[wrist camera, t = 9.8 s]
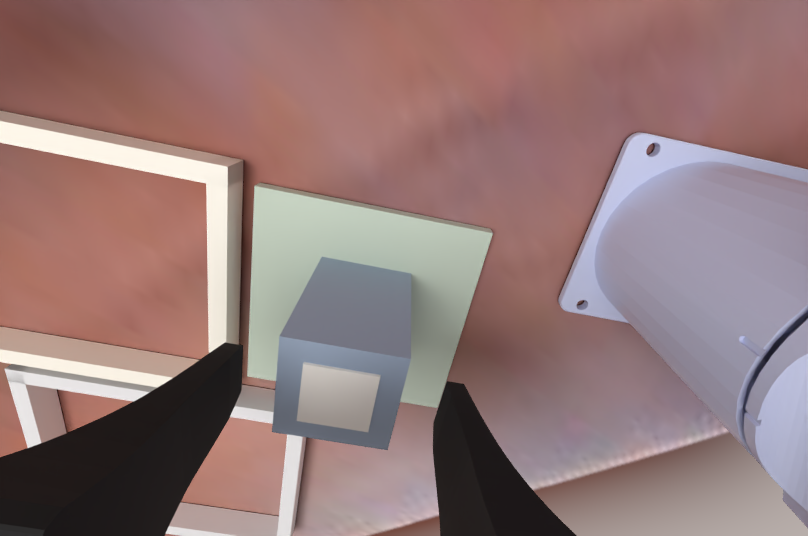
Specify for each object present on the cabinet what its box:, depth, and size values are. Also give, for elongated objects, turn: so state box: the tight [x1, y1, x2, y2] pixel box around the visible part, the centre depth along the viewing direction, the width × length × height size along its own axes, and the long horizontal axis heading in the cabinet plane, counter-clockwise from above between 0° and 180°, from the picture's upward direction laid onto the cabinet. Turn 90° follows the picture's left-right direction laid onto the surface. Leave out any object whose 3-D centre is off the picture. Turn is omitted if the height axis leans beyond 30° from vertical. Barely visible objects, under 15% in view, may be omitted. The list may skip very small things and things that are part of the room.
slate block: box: [272, 257, 411, 450], centre depth 15 cm, size 4×4×6 cm
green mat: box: [247, 183, 493, 408], centre depth 18 cm, size 10×10×1 cm
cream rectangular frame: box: [0, 111, 243, 387], centre depth 17 cm, size 15×12×2 cm
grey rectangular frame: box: [5, 364, 306, 536], centre depth 22 cm, size 15×12×2 cm
